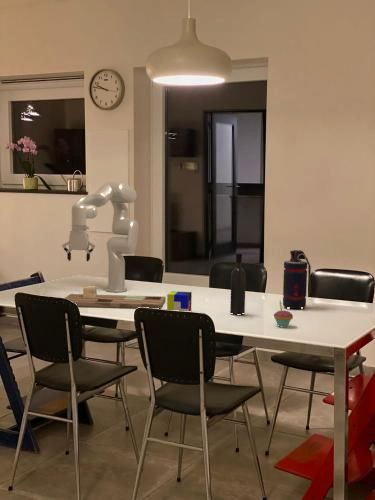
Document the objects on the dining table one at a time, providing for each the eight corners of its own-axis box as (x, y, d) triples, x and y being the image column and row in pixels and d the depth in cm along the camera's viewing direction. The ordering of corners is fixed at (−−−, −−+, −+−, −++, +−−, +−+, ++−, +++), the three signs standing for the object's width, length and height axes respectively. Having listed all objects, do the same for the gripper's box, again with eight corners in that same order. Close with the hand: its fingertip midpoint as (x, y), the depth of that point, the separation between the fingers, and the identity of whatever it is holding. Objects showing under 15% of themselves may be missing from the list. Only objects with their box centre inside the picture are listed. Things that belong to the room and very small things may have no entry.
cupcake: (270, 326, 302) (271, 300, 301) (278, 323, 309) (279, 297, 308) (287, 329, 298) (288, 302, 296) (295, 325, 305) (296, 299, 304)
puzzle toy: (187, 315, 324) (187, 295, 323) (167, 314, 326) (167, 294, 325) (191, 312, 334) (191, 292, 333) (171, 310, 336) (171, 291, 335)
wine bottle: (229, 314, 329) (230, 253, 326) (236, 312, 333) (238, 252, 330) (238, 315, 325) (239, 254, 322) (245, 314, 329) (247, 253, 326)
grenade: (284, 309, 343) (286, 251, 340) (281, 305, 355) (282, 249, 352) (311, 310, 343) (313, 252, 340) (307, 306, 354) (309, 249, 351)
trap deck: (70, 298, 366) (70, 293, 365) (165, 301, 362) (165, 296, 362) (59, 306, 342) (59, 301, 341) (160, 309, 338) (160, 304, 338)
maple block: (85, 295, 362) (85, 286, 361) (96, 295, 361) (96, 286, 361) (83, 297, 356) (83, 287, 355) (94, 297, 355) (94, 288, 355)
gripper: (96, 228, 357) (96, 260, 359) (64, 227, 358) (64, 259, 360) (93, 229, 350) (93, 261, 351) (60, 228, 350) (60, 261, 352)
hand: (78, 260), depth 355 cm, fingers open, 9 cm apart
